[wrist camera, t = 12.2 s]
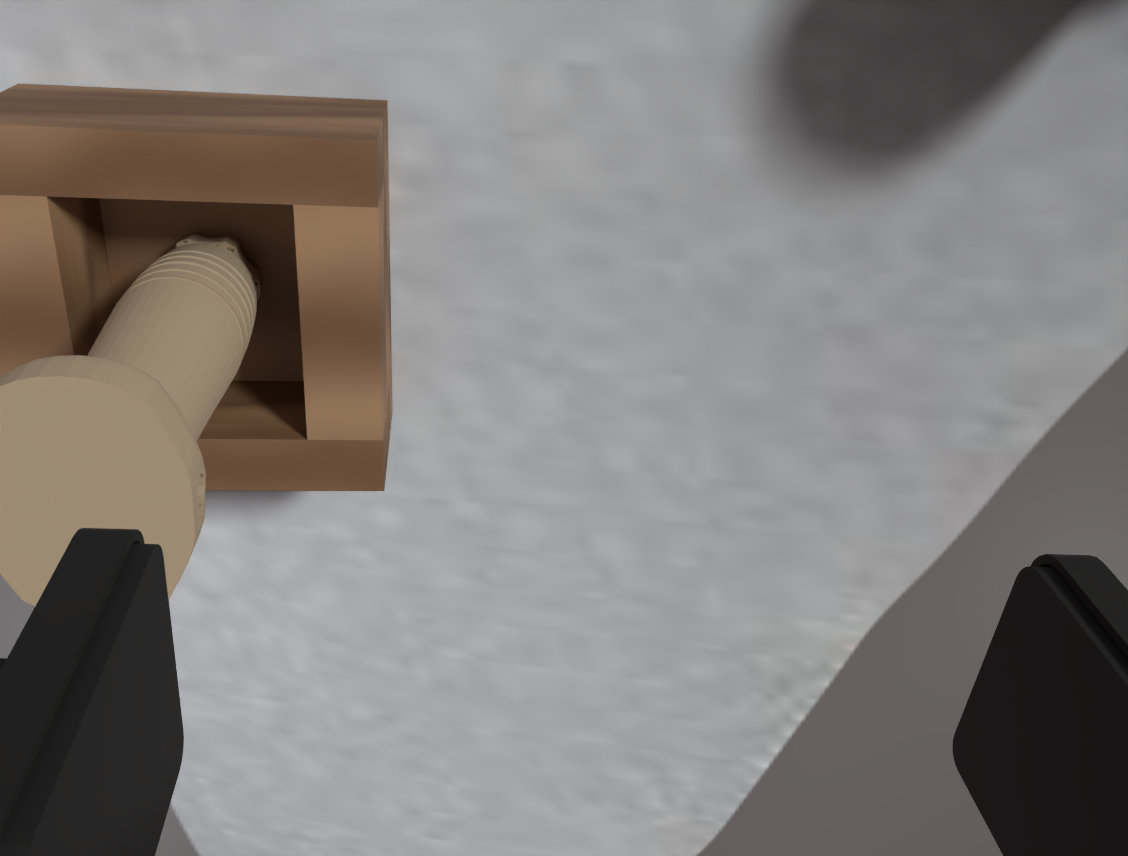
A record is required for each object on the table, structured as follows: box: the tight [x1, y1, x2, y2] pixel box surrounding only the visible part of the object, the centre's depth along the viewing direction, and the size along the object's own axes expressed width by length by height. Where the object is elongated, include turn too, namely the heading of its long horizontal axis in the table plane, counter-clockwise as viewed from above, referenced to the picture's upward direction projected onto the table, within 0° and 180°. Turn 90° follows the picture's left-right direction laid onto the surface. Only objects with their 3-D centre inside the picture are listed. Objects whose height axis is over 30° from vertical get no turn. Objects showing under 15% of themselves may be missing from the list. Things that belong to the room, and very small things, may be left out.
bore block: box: [0, 84, 392, 491], centre depth 35 cm, size 12×12×6 cm
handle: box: [0, 233, 262, 606], centre depth 30 cm, size 5×6×15 cm
